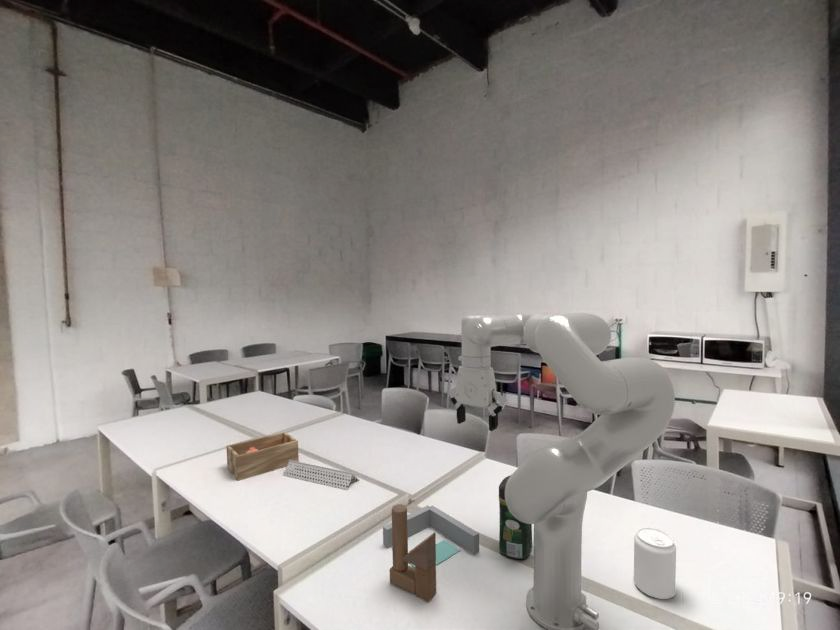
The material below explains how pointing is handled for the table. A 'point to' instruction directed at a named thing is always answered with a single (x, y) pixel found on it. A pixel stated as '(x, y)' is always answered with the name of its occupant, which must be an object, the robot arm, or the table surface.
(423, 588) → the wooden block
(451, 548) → the pad
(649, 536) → the beverage can
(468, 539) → the corner wall
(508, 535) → the coffee jar
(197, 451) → the table surface
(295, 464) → the corner bead
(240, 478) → the box
